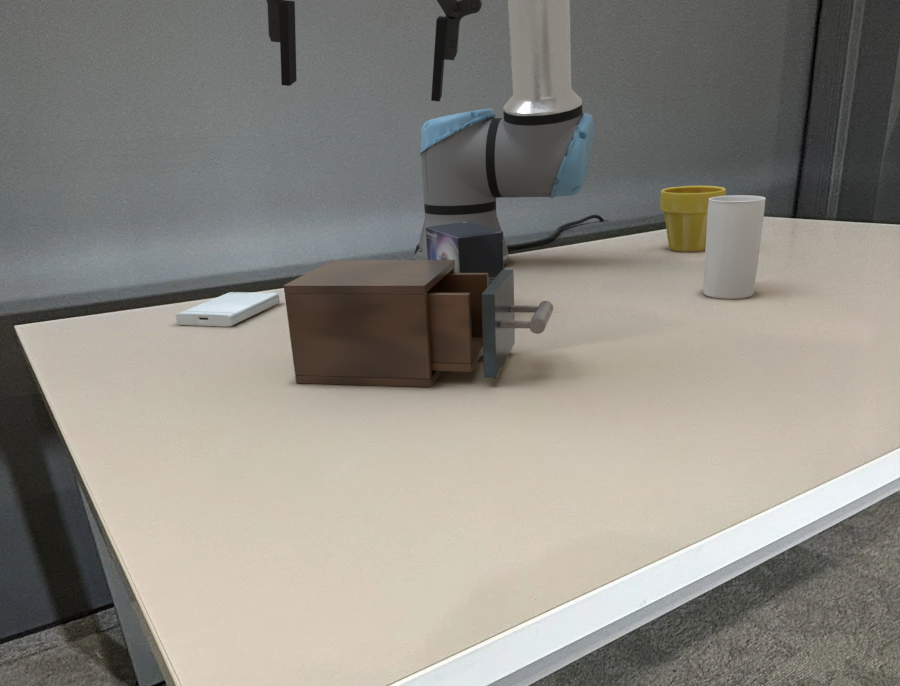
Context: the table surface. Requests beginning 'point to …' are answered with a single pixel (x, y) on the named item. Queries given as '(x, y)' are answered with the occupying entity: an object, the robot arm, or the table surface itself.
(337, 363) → the cabinet
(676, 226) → the flower pot
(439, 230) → the small box
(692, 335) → the table surface
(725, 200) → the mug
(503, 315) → the drawer
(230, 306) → the hard drive
